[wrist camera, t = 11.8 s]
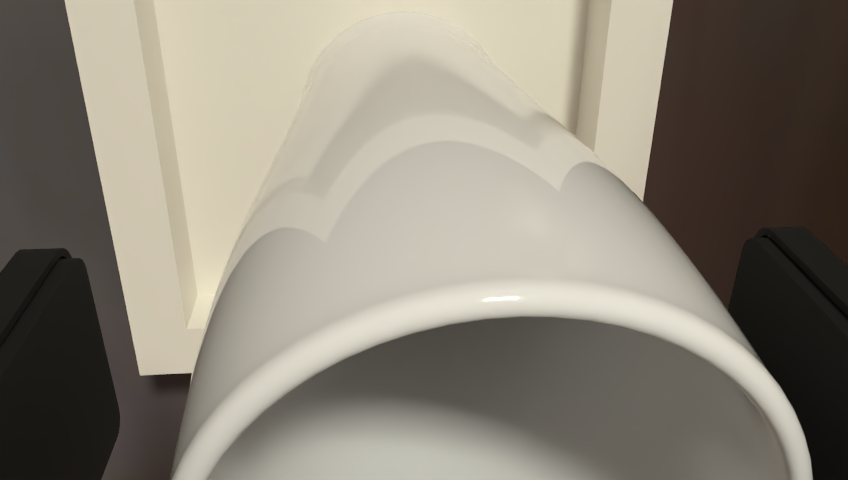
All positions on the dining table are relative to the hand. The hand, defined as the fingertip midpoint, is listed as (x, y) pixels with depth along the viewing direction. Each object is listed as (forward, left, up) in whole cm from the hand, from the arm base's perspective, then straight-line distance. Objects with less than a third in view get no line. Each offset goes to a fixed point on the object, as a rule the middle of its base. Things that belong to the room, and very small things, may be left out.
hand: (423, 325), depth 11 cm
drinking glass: (0, 0, -11) cm, 11 cm away
